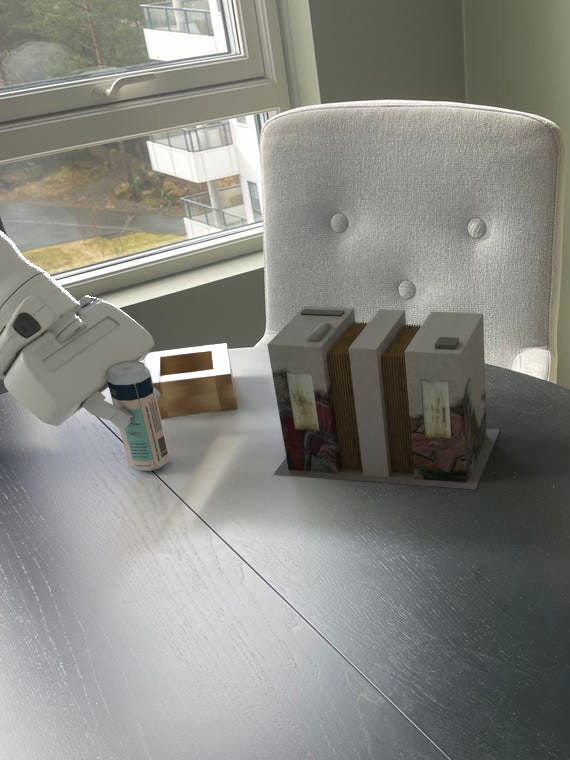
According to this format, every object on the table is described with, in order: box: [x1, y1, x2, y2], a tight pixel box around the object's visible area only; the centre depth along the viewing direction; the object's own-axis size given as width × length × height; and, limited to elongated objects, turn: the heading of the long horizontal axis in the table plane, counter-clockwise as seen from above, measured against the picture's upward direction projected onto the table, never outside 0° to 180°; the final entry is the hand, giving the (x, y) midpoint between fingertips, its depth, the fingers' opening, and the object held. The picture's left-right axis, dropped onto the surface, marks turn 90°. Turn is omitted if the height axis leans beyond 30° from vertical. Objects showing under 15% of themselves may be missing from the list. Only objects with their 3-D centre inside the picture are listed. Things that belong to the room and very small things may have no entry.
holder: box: [143, 342, 238, 419], centre depth 134 cm, size 11×11×5 cm
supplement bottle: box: [107, 360, 171, 472], centre depth 111 cm, size 5×5×12 cm
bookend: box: [267, 305, 501, 491], centre depth 116 cm, size 16×25×16 cm, turn 79°
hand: (142, 412), depth 111 cm, fingers closed on supplement bottle, 5 cm apart
